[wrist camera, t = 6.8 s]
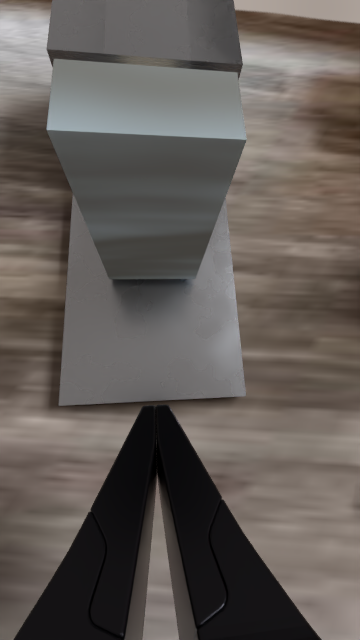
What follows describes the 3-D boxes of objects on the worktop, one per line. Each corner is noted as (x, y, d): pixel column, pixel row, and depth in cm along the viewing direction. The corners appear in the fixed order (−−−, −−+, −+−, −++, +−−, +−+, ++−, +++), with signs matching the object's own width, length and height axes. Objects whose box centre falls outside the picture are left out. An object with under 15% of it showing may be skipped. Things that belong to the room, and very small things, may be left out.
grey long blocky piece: (240, 395, 16) (305, 400, 9) (65, 404, 15) (-14, 418, 8) (210, 91, 21) (235, -45, 15) (84, 83, 20) (49, -67, 14)
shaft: (195, 280, 16) (246, 139, 7) (109, 280, 15) (46, 130, 6) (182, 88, 20) (205, -161, 11) (114, 83, 19) (78, -182, 10)
